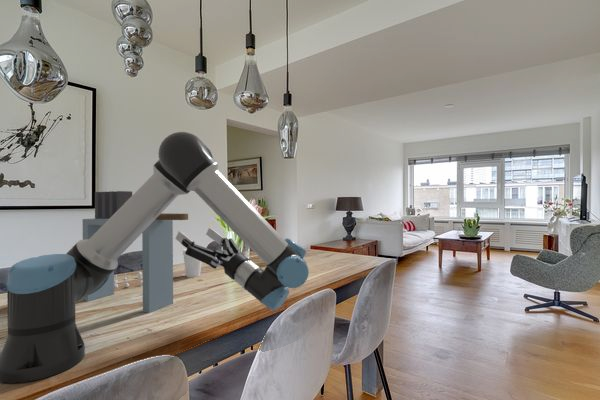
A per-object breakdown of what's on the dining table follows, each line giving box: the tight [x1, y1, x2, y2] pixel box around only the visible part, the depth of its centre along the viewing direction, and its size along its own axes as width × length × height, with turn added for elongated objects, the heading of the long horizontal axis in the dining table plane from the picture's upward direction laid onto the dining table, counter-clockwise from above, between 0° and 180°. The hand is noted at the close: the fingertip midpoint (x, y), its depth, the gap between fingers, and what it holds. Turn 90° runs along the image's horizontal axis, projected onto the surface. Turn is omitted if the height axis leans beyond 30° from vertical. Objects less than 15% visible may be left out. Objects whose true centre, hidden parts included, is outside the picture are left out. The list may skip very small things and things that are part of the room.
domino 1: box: [94, 191, 103, 219], centre depth 119 cm, size 5×2×10 cm, turn 156°
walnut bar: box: [155, 212, 189, 221], centre depth 108 cm, size 3×24×2 cm, turn 66°
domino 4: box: [116, 190, 133, 211], centre depth 114 cm, size 5×2×10 cm, turn 156°
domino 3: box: [108, 190, 117, 219], centre depth 116 cm, size 5×2×10 cm, turn 156°
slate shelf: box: [82, 217, 174, 313], centre depth 114 cm, size 10×34×30 cm, turn 66°
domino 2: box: [101, 191, 110, 219], centre depth 118 cm, size 5×2×10 cm, turn 156°
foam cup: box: [182, 248, 203, 278], centre depth 154 cm, size 10×9×13 cm
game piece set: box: [114, 271, 143, 289], centre depth 142 cm, size 19×20×4 cm
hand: (193, 232), depth 101 cm, fingers open, 13 cm apart
